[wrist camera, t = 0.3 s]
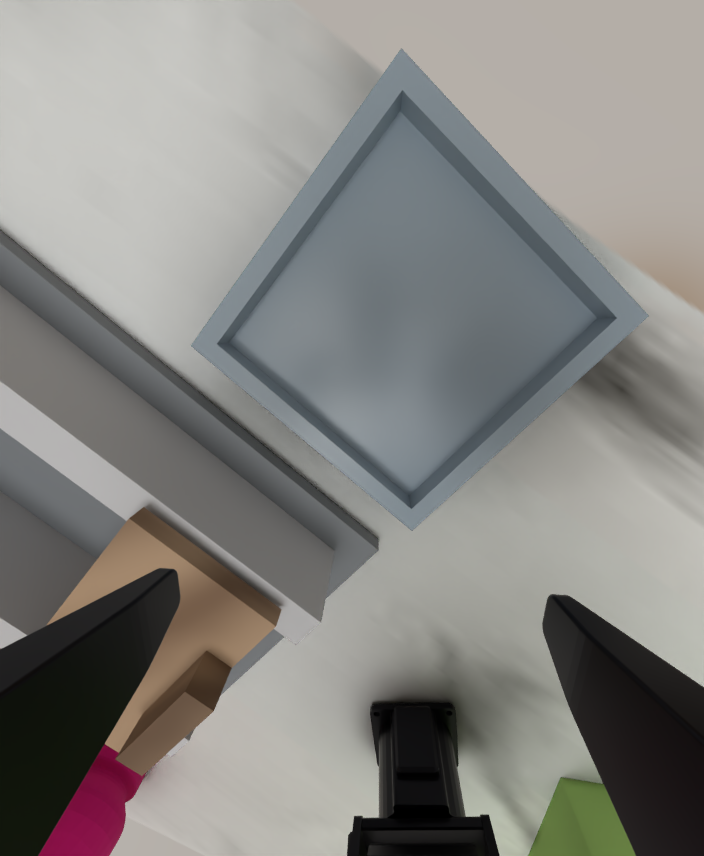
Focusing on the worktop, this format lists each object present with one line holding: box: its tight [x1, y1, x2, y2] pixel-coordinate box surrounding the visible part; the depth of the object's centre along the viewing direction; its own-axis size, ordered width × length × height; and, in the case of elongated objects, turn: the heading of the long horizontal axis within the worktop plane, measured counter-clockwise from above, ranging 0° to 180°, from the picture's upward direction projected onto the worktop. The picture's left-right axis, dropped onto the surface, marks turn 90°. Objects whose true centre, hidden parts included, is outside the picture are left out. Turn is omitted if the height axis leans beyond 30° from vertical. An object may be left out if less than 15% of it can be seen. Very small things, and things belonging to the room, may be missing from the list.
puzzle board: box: [0, 230, 378, 757], centre depth 21 cm, size 32×18×7 cm, turn 49°
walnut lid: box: [46, 507, 281, 776], centre depth 17 cm, size 8×13×3 cm, turn 139°
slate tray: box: [191, 49, 649, 530], centre depth 19 cm, size 16×16×2 cm
